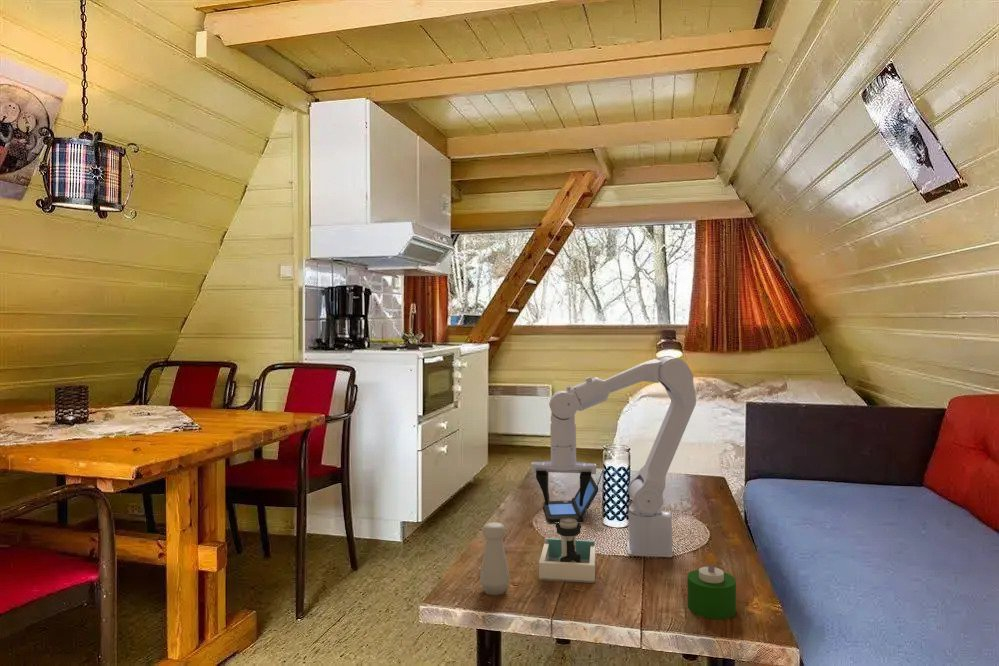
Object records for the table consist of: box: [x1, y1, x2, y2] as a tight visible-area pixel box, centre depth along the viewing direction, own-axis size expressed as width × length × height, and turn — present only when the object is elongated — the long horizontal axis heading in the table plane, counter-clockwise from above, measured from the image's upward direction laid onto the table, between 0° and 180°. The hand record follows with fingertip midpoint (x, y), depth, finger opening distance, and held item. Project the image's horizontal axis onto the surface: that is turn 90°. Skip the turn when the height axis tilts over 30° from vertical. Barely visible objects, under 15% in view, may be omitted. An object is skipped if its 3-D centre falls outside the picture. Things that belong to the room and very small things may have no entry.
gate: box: [543, 537, 596, 560], centre depth 137 cm, size 11×1×4 cm, turn 78°
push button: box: [555, 518, 582, 563], centre depth 131 cm, size 7×5×10 cm
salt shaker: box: [479, 522, 511, 596], centre depth 122 cm, size 6×6×13 cm
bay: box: [538, 543, 597, 584], centre depth 131 cm, size 11×11×4 cm
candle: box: [686, 552, 737, 620], centre depth 113 cm, size 8×8×10 cm
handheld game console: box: [542, 475, 599, 523], centre depth 169 cm, size 16×13×9 cm
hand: (564, 504), depth 143 cm, fingers open, 7 cm apart
